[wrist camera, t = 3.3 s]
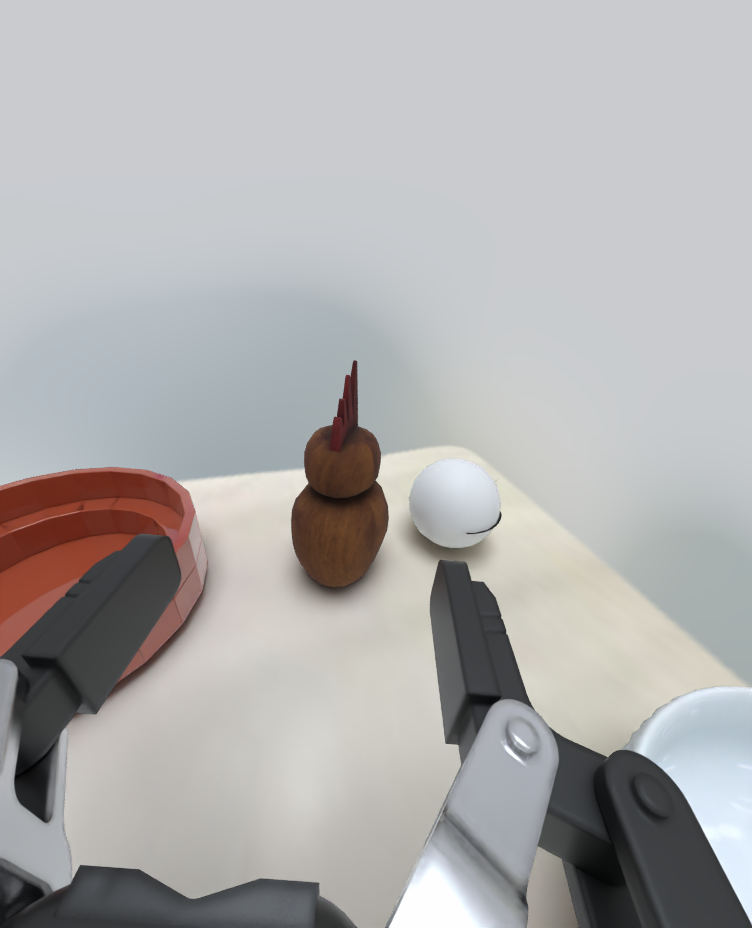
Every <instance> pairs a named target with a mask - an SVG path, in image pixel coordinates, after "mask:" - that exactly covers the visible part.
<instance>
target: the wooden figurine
mask: <svg viewBox="0 0 752 928" xmlns="http://www.w3.org/2000/svg"><path fill="white" fill-rule="evenodd" d="M357 392H358V391H357V361H355V360H354V361H353V365H352V371H351V377H350V375H346V378H345V386H344V393H343V399H339V405H338V413H337V417H334V420H333V425H331V426H326V427H323V428H320V429H319V430H317V431H316V432H315V433H314V434H313V435H312V437H311V438H310V440H309V441H308V443H307V445H306V449H305V452H304V453H305V454H304V466H305V473H306V478H307V480H308V482H309V483H308V485H307V486H306V487H305V488H304V490H303V491H302V492H301V493H300V495H299V496H298V497H297V498H296V500H295V503H294V506H293V509H292V518H291V529H292V540H293V546H294V549H295V553H296V555H297V557H298V559H299V561H300V563H301V565H302V566H303V568H304V569H305V571H306V572H307V573H308V575H309V576H310V577H311V578H312V579H313V580H315V581H317V582H318V583H320V584H322V585H325V586H329V587H332V588H334V587H343V586H347V585H349V584H351V583H353V582H355V581H357V580H358V579H359V578H361V577H362V576H363V575H364V574H365V573H366V571H367V570H368V568H369V567H370V565H371V564H372V562H373V560H374V559H375V557H376V555H377V553H378V550H379V548H380V546H381V544H382V541H383V539H384V536H385V534H386V531H387V527H388V519H389V516H388V505H387V502H386V499H385V496H384V493H383V490H382V487H381V486H380V485H379V484H378V483H377V482H376V481H375V480H376V479H377V477H378V473H379V468H380V463H381V452H380V448H379V444H378V442H377V439H376V438H375V437H374V435H373V434H372V433H371V432H369V431H368V430H367V429H364V428H361V427H358V398H357V397H358V395H357Z"/></svg>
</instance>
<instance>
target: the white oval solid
mask: <svg viewBox="0 0 752 928" xmlns="http://www.w3.org/2000/svg"><path fill="white" fill-rule="evenodd" d="M497 480H498V479H497ZM497 480H496V481H497ZM496 481H495V482H496ZM495 482H494V481H493V479H492V478H491V477H490V476H489V474H488V473H487V472H486V471H485V470H484V469H483V468H482V467H480V466H478V465H477V464H475V463H472V462H469V461H466V460H461V459H443V460H440V461H438V462H436V463H434V464H432V465H430V466H427V467H426V468H425V469H424V470H423V471H422V473H421V474H420V475H419V476H418V477H417V478H416V479H415V481H414V484H413V486H412V489H411V493H410V497H409V508H410V513H411V516H412V519H413V521H414V523H415V525H416V527H417V528H418V530H419V531H420V532H421V534H423V535H424V536H425V537H427V538H428V539H429V540H431V541H432V542H434V543H436V544H438V545H440V546H444V547H448V548H465V547H469V546H472V545H475V544H476V543H478V542H479V541H481V540H482V539H483V538H485V537H486V536H488V535H489V534H490V533H491V531H492V529H493V528H494V527H495V526H497V524H498V523H499V522H500V520H501V512H500V507H501V502H500V496H499V492H498V489H497V485H496V484H495Z"/></svg>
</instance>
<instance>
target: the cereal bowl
mask: <svg viewBox="0 0 752 928" xmlns="http://www.w3.org/2000/svg"><path fill="white" fill-rule="evenodd" d="M622 750H630V751H634V752H637V753H639V754H641V755H643V756H645V757H647V758H648V759H650V760H651V761H653V762H654V763H656V764H657V765H658V766H659V767H660V768H662V769H663V770H664V771H665V772H666V773H667V774H668V775H669V776H670V777H671V778H672V780H673V781H674V782H675V783H676V784H677V786H678V787H679V788H680V790H681V791H682V793H683V794H684V796H685V798H686V799H687V801H688V803H689V805H690V806H691V808H692V810H693V812H694V814H695V816H696V818H697V820H698V822H699V824H700V826H701V828H702V829H703V831H704V833H705V835H706V837H707V839H708V841H709V843H710V845H711V847H712V849H713V851H714V853H715V854H716V856H717V858H718V860H719V862H720V864H721V866H722V868H723V870H724V872H725V874H726V876H727V878H728V879H729V881H730V883H731V885H732V887H733V889H734V891H735V893H736V895H737V897H738V899H739V901H740V902H741V904H742V906H743V908H744V910H745V912H746V914H747V916H748V918H749V920H750V922H751V924H752V688H748V687H733V686H721V687H711V688H704V689H700V690H695V691H692V692H690V693H687V694H684V695H682V696H679V697H676V698H674V699H672V700H671V701H670V702H669V703H668V704H666V705H664V706H662V707H660V708H658V709H656V710H655V712H654V713H653V715H652V716H651V717H650V718H648V719H647V720H645V721H644V722H643V723H642V724H641V726H640V728H639V730H637V731H635V732H634V733H633V734H632V736H631V739H630V742H629V743H628V744H627V745H625V746H624V747H623V748H622Z"/></svg>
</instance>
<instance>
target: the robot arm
mask: <svg viewBox="0 0 752 928" xmlns="http://www.w3.org/2000/svg"><path fill="white" fill-rule="evenodd" d="M180 582H181V569H180V566H179V563H178V559H177V556H176V553H175V550H174V546H173V543H172V540H171V538H170V537H168V536H162V535H150V534H138V535H136V536H135V537H134V538H133V539H132V540H131V541H130V542H129V543H128V544H127V545H126V546H125V547H124V548H123V549H122V550H121V551H117V550H116V551H114V552H113V553H111V554H110V555H108V556H106V557H105V558H103V559H102V560H100V561H98V562H97V563H95V564H94V565H93V566H92V567H91V568H90V569H89V570H88V571H87V572H86V573H85V574H84V575H83V576H82V577H81V578H80V579H79V582H78V583H75V584H74V585H73V586H72V587H71V588H70V589H69V590H68V591H67V592H66V593H65V596H64V597H61V598H60V599H59V600H58V601H57V602H56V603H55V604H54V605H53V606H52V607H51V608H50V609H49V610H48V611H47V612H46V613H45V614H44V615H43V616H42V617H41V618H40V619H39V620H38V621H37V622H36V623H35V624H34V625H33V626H32V627H31V628H30V629H29V630H28V631H27V632H26V633H25V634H24V635H23V636H22V637H21V638H20V639H19V640H18V641H17V642H16V643H15V644H14V645H13V646H12V647H11V648H10V649H9V650H8V651H6V652H5V653H4V654H3V655H2V656H1V657H0V928H357V927H356V926H355V925H354V924H353V922H352V921H351V920H350V919H349V918H348V917H347V915H346V914H345V913H344V912H343V911H341V910H340V909H339V908H338V907H337V906H335V905H334V904H333V903H332V902H330V901H328V900H326V899H325V898H323V897H321V896H319V883H314V882H301V881H287V880H274V879H258V880H255V881H251V882H248V883H245V884H242V885H239V886H236V887H233V888H229V889H226V890H223V891H220V892H217V893H214V894H211V895H208V896H204V897H201V898H197V899H189V898H187V897H185V896H183V895H182V894H180V893H178V892H176V891H175V890H173V889H171V888H170V887H168V886H166V885H165V884H163V883H161V882H160V881H158V880H156V879H154V878H153V877H151V876H149V875H148V874H146V873H144V872H143V871H141V870H139V869H126V868H112V867H99V866H85V865H80V867H79V869H78V871H77V872H76V874H75V876H74V878H73V880H72V860H71V852H70V847H69V843H68V840H67V838H66V835H65V830H64V800H65V781H66V763H67V745H68V730H67V727H66V726H67V724H68V723H69V721H70V720H71V719H72V717H73V716H74V714H75V713H86V714H97V712H98V711H99V709H100V707H101V706H102V704H103V703H104V701H105V700H106V698H107V697H108V695H109V694H110V692H111V691H112V689H113V688H114V686H115V685H116V683H117V682H118V680H119V679H120V677H121V676H122V674H123V673H124V671H125V670H126V668H127V667H128V665H129V664H130V662H131V661H132V659H133V658H134V656H135V655H136V653H137V652H138V650H139V649H140V647H141V646H142V644H143V643H144V641H145V640H146V638H147V637H148V635H149V633H150V632H151V630H152V629H153V627H154V626H155V624H156V623H157V621H158V620H159V618H160V617H161V615H162V614H163V612H164V611H165V609H166V608H167V606H168V605H169V603H170V602H171V600H172V599H173V597H174V596H175V594H176V593H177V591H178V588H179V586H180ZM430 616H431V625H432V633H433V642H434V650H435V659H436V667H437V675H438V684H439V692H440V701H441V709H442V717H443V726H444V734H445V743H446V744H456V745H459V752H460V759H461V767H460V769H459V771H458V773H457V775H456V777H455V779H454V782H453V784H452V786H451V788H450V790H449V792H448V794H447V797H446V799H445V801H444V803H443V805H442V807H441V809H440V812H439V814H438V816H437V818H436V820H435V822H434V824H433V827H432V829H431V831H430V833H429V835H428V837H427V839H426V842H425V844H424V846H423V848H422V850H421V852H420V854H419V856H418V859H417V861H416V863H415V865H414V867H413V869H412V871H411V873H410V875H409V877H408V879H407V881H406V884H405V886H404V888H403V890H402V892H401V894H400V896H399V899H398V901H397V903H396V905H395V907H394V909H393V911H392V914H391V916H390V918H389V920H388V922H387V924H386V926H385V928H526V927H527V920H528V904H527V900H526V892H527V886H528V881H529V877H530V873H531V869H532V865H533V861H534V857H535V854H536V850H537V846H539V847H541V848H543V849H545V850H546V851H548V852H550V853H552V854H554V855H556V856H557V857H559V858H561V859H562V862H563V866H564V870H565V874H566V878H567V881H568V885H569V889H570V893H571V897H572V901H573V905H574V909H575V913H576V917H577V921H578V925H579V928H752V924H751V922H750V920H749V918H748V916H747V914H746V912H745V910H744V908H743V906H742V904H741V902H740V901H739V899H738V897H737V895H736V893H735V891H734V889H733V887H732V885H731V883H730V881H729V879H728V878H727V876H726V874H725V872H724V870H723V868H722V866H721V864H720V862H719V860H718V858H717V856H716V854H715V853H714V851H713V849H712V847H711V845H710V843H709V841H708V839H707V837H706V835H705V833H704V831H703V829H702V828H701V826H700V824H699V822H698V820H697V818H696V816H695V814H694V812H693V810H692V808H691V806H690V805H689V803H688V801H687V799H686V798H685V796H684V794H683V793H682V791H681V790H680V788H679V787H678V786H677V784H676V783H675V782H674V781H673V780H672V778H671V777H670V776H669V775H668V774H667V773H666V772H665V771H664V770H663V769H662V768H660V767H659V766H658V765H657V764H656V763H654V762H653V761H651V760H650V759H648V758H647V757H645V756H643V755H641V754H639V753H637V752H634V751H630V750H618V751H616V752H614V753H612V754H611V755H610V756H609V757H606V756H604V755H601V754H599V753H597V752H595V751H592V750H590V749H588V748H586V747H584V746H581V745H579V744H577V743H575V742H572V741H570V740H568V739H566V738H564V737H562V736H561V735H559V734H558V733H556V732H555V731H554V730H552V729H551V728H550V727H549V726H548V725H547V723H546V722H545V721H544V720H543V718H542V717H541V716H540V715H539V714H538V713H537V712H536V711H535V710H534V708H533V706H532V705H531V703H530V701H529V698H528V696H527V693H526V690H525V687H524V684H523V681H522V678H521V675H520V672H519V669H518V666H517V662H516V659H515V656H514V653H513V650H512V647H511V644H510V641H509V638H508V635H506V629H505V625H504V622H503V619H501V613H500V610H499V607H498V604H497V601H496V598H495V596H494V595H493V594H492V593H491V591H490V590H489V589H488V587H487V586H486V585H485V583H484V582H478V581H471V577H470V573H469V570H468V566H467V564H466V562H462V561H450V560H440V561H439V563H438V566H437V571H436V575H435V579H434V583H433V587H432V591H431V597H430Z"/></svg>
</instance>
